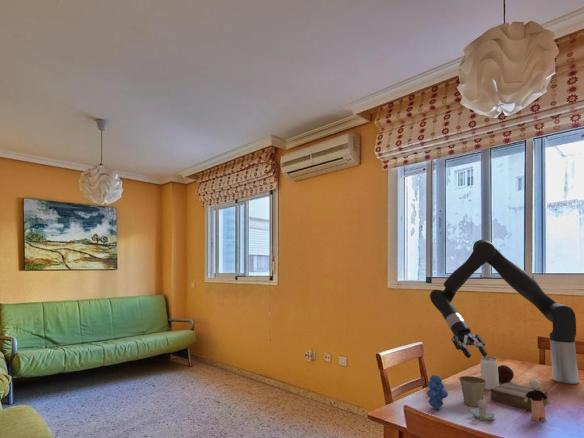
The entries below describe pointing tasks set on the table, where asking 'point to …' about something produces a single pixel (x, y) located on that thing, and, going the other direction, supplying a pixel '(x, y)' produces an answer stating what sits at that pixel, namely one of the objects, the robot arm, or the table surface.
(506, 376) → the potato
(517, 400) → the walnut block
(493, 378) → the can
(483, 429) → the table surface
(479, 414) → the pacifier
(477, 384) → the flower pot
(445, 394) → the grapes
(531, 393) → the grandmother figurine
